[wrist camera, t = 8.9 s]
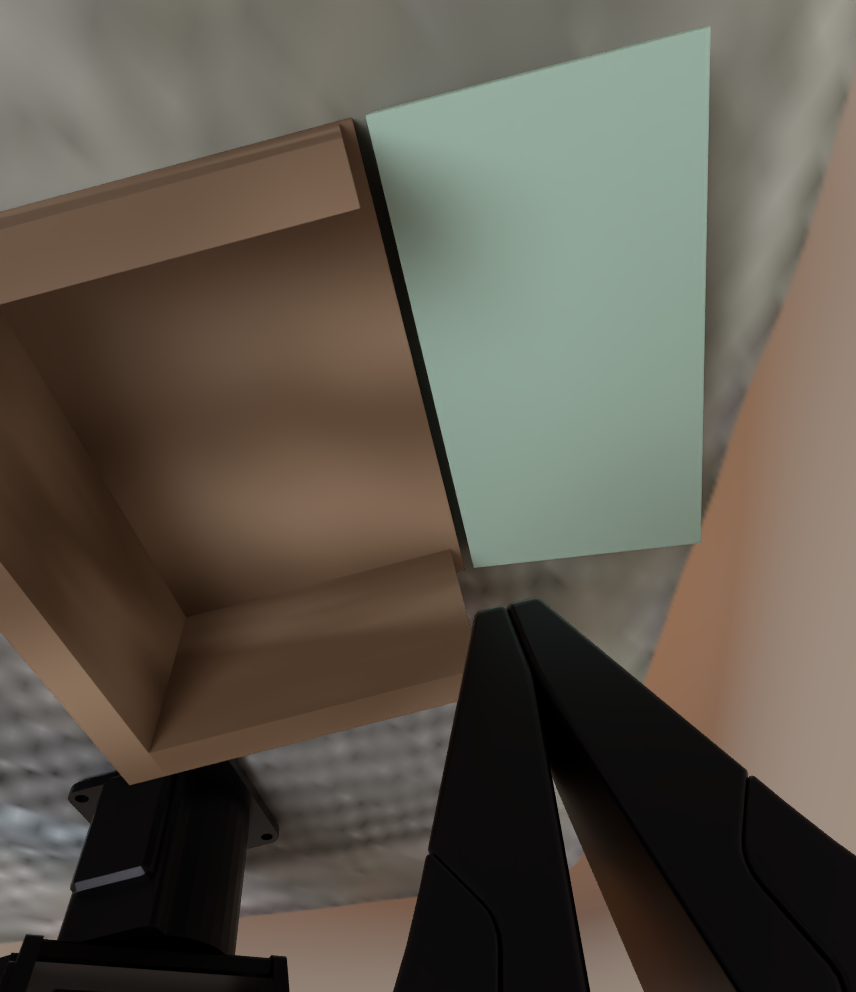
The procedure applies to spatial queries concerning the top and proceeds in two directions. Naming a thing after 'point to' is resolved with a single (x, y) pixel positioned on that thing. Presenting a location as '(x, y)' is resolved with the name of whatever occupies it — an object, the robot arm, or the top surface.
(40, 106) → the top surface
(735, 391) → the top surface
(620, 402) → the panel
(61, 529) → the crate
